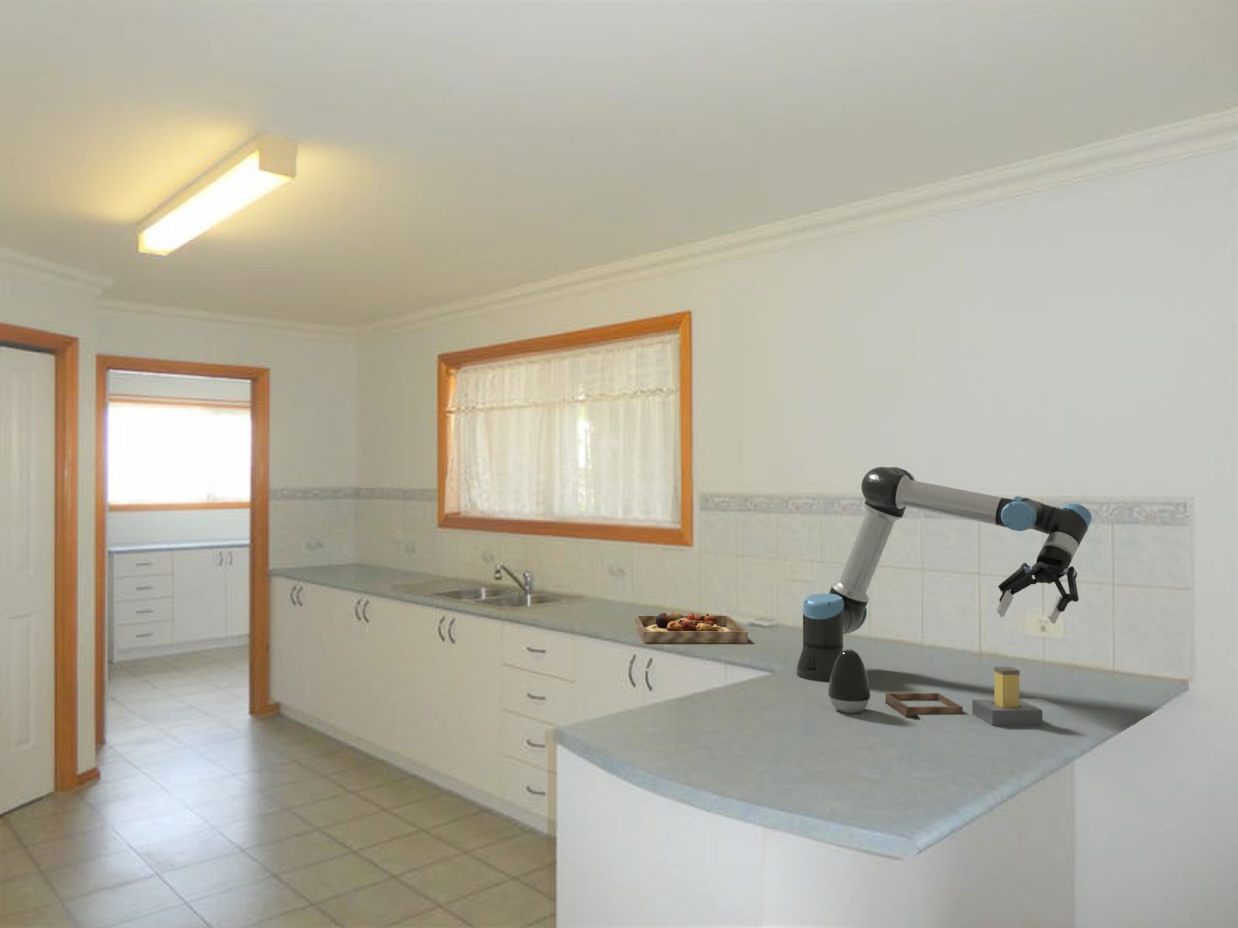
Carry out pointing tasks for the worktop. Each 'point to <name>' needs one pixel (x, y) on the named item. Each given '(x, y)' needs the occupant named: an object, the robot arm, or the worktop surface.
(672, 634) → the wooden fruit tray
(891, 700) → the tray
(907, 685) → the worktop surface
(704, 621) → the wooden plate with food
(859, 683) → the black egg shaped container
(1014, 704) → the plug
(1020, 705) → the grey block with hole
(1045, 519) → the robot arm
